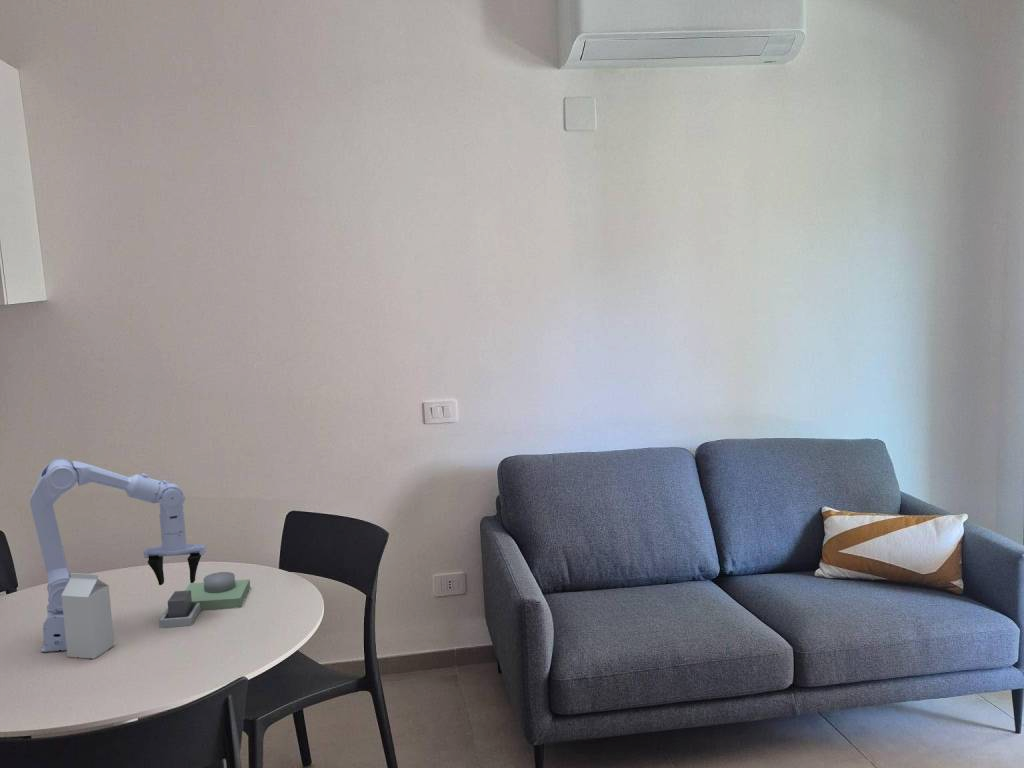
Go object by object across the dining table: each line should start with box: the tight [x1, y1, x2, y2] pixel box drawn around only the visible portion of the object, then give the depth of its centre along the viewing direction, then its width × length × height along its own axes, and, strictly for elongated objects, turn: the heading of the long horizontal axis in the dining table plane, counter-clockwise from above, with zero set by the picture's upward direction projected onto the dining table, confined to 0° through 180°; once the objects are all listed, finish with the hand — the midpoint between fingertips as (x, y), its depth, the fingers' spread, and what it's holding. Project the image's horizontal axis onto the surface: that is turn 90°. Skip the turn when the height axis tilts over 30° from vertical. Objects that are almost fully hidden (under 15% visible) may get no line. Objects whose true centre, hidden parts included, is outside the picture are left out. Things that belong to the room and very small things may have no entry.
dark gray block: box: [167, 590, 192, 618], centre depth 216 cm, size 7×4×6 cm, turn 7°
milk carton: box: [61, 572, 115, 660], centre depth 197 cm, size 7×7×19 cm
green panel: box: [158, 571, 251, 629], centre depth 223 cm, size 24×18×6 cm
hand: (177, 582), depth 216 cm, fingers open, 7 cm apart
